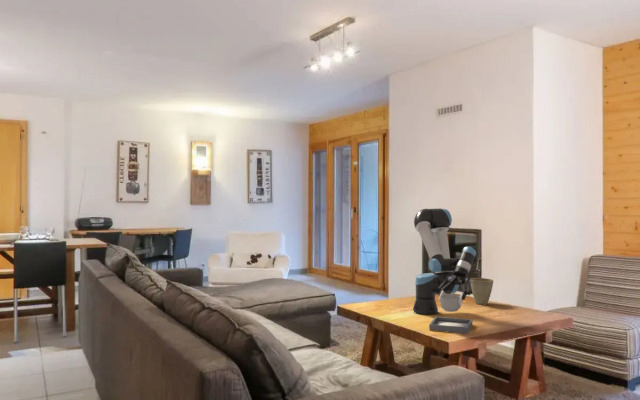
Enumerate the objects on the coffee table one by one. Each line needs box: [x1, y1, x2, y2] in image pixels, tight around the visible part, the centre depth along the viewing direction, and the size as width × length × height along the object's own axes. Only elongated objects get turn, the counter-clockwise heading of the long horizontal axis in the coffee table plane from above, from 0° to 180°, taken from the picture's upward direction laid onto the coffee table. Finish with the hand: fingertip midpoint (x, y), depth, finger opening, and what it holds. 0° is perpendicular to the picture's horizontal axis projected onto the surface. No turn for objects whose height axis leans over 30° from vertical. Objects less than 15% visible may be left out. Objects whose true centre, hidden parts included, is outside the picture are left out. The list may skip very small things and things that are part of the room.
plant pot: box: [470, 277, 494, 305], centre depth 331 cm, size 15×15×16 cm
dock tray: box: [428, 316, 473, 335], centre depth 267 cm, size 20×20×3 cm
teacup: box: [440, 293, 462, 313], centre depth 267 cm, size 14×11×8 cm
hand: (449, 302), depth 264 cm, fingers closed on teacup, 11 cm apart
